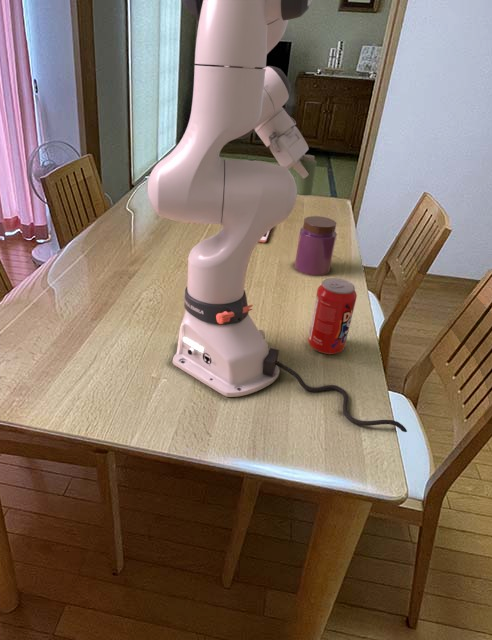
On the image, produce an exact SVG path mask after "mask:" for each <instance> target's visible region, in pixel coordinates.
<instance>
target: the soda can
mask: <svg viewBox="0 0 492 640" xmlns="http://www.w3.org/2000/svg"><path fill="white" fill-rule="evenodd" d="M357 296H358V295H357V292H356V286H355V284H354V283H352V282H351V281H349V280H346V279H344V278H338V277H329V278H326V279H323V280H322V283H321V285H319V286H318V287H317V290H316V295H315V301H314V305H313V311H312V317H311V322H310V327H309V333H308V338H307V343H308V344H309V347H311V348H312V349H313V350H315V351H317V352H319V353H322V354H326V355H334V354H339V353H341V352H342V351H344V350H345V347H346V344H347V340H348V335H349V330H350V326H351V323H352V318H353V314H354V310H355V306H356V301H357V298H358V297H357Z"/></svg>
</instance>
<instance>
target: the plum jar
mask: <svg viewBox="0 0 492 640" xmlns="http://www.w3.org/2000/svg"><path fill="white" fill-rule="evenodd" d="M336 229H337V221H336V220H334V219H332V218H329V217H325V216H320V215H312V216H306V217H305V218H304V219H303V224H302V227H301V228H300V229H299V236H298V243H297V249H296V254H295V260H294V268H295V270H296V271H298V272H300V273H301V274H304V275H308V276H325V275H327V274H328V273H330V271H331V266H332V260H333V255H334V250H335V245H336V240H337V235H338V234H337V232H336Z"/></svg>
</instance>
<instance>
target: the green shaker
mask: <svg viewBox="0 0 492 640" xmlns="http://www.w3.org/2000/svg"><path fill="white" fill-rule="evenodd" d="M300 162H301V164H302V165H303V166H304V168H305V169H307V170H308V172H309V175H308V176H307V177H306V178H302V177H301V175H300V174H299V173H298V172H297V175H296V181H295V183H296V188H297V195H298V196H304V197H305V196H311V195H312V193H313V187H314V181H315V175H316V169H317V163H318V162H317V160H315V155H311V154H305V155H303V159H300Z"/></svg>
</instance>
